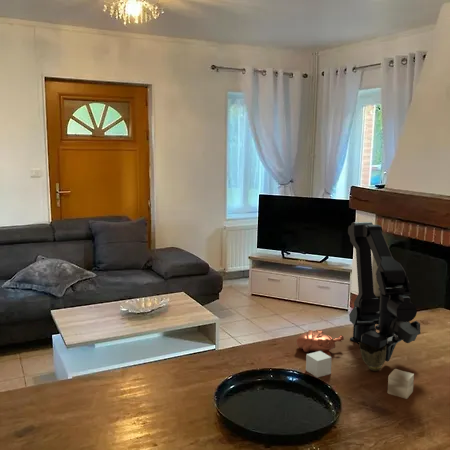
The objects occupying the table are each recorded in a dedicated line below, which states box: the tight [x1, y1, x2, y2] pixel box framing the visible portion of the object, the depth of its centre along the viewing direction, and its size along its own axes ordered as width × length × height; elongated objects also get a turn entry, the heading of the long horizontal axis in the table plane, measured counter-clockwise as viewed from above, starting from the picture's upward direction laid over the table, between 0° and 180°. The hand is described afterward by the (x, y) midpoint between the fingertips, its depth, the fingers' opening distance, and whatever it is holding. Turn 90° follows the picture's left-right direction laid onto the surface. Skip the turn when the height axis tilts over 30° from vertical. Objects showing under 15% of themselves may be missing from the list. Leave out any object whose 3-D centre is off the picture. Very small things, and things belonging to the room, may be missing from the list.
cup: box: [358, 342, 387, 372], centre depth 142 cm, size 8×7×8 cm
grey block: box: [305, 351, 333, 378], centre depth 141 cm, size 5×5×5 cm
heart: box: [296, 329, 345, 357], centre depth 157 cm, size 6×12×15 cm
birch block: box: [386, 368, 415, 400], centre depth 130 cm, size 5×5×5 cm
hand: (386, 360), depth 146 cm, fingers closed
